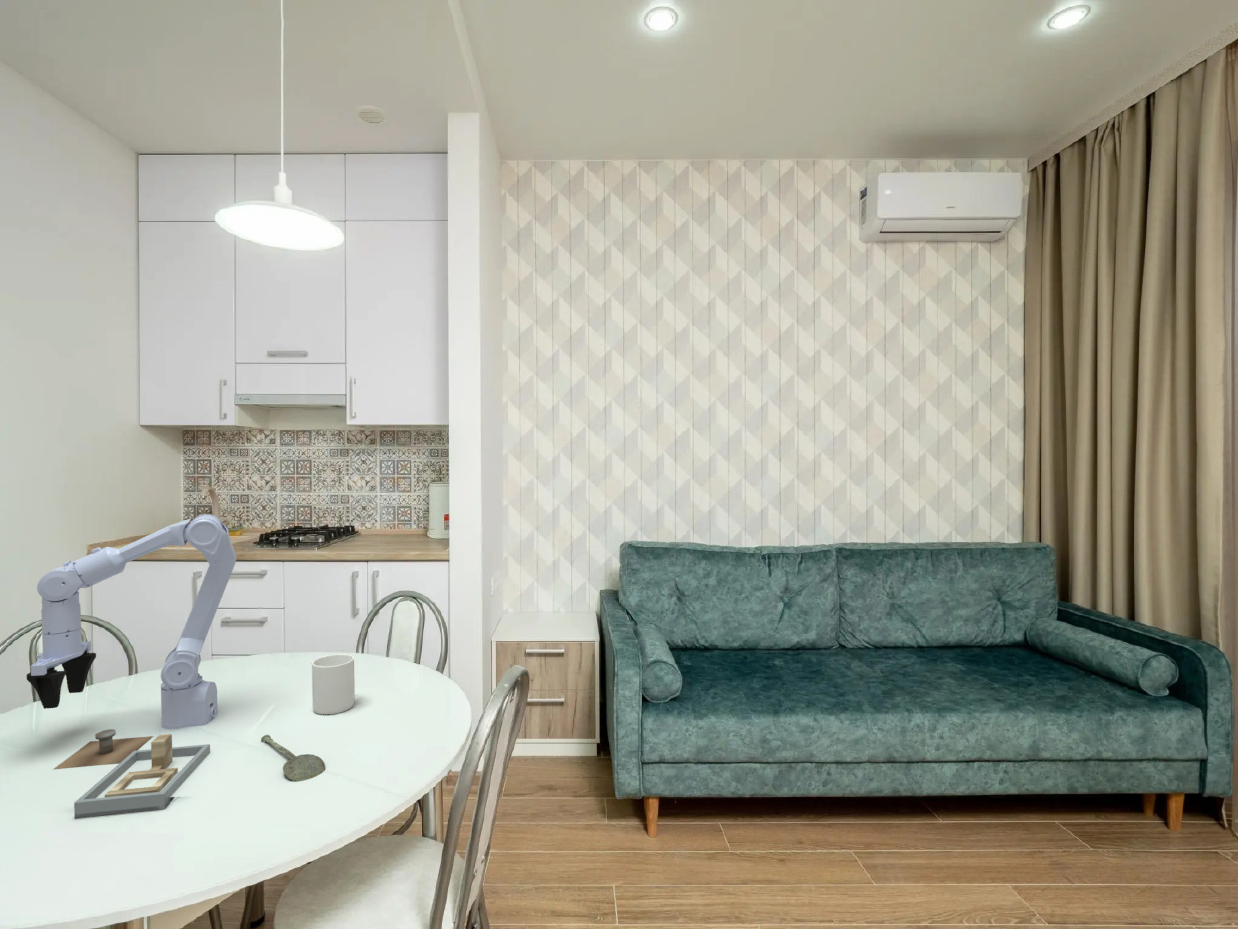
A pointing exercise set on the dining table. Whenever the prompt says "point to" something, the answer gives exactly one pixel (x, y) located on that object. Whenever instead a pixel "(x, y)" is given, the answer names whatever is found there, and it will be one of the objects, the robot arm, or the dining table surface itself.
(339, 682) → the mug
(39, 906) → the dining table surface
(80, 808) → the grey rectangular frame
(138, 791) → the wooden knob frame
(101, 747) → the block
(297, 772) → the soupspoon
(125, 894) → the dining table surface
